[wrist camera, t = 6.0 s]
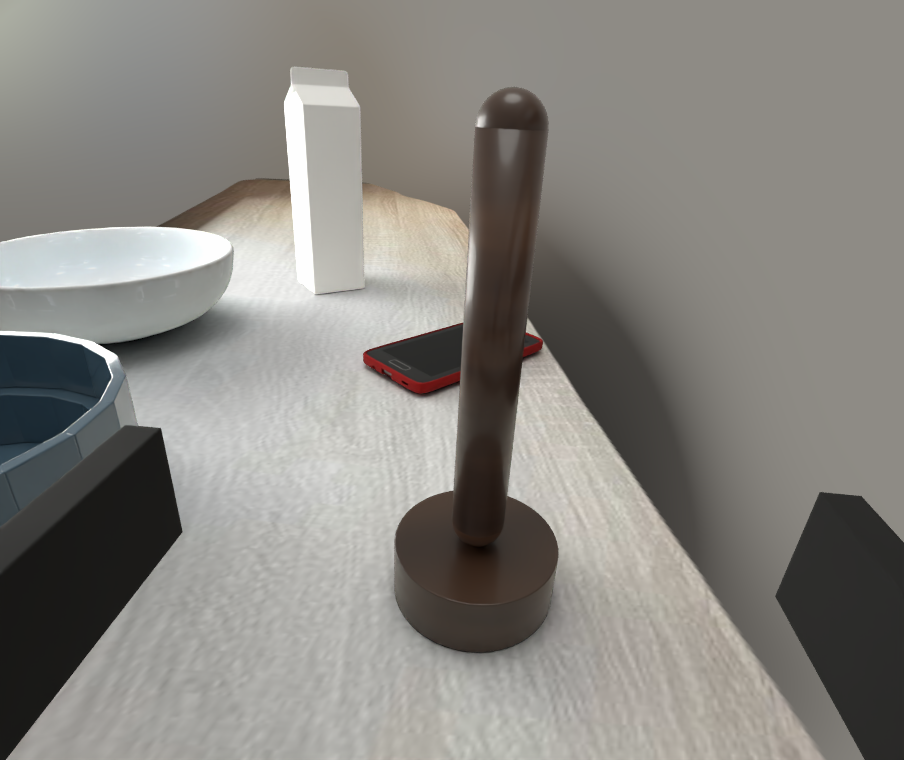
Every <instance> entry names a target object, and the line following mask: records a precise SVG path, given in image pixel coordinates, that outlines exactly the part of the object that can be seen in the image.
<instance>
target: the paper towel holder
mask: <svg viewBox="0 0 904 760" xmlns="http://www.w3.org/2000/svg"><path fill="white" fill-rule="evenodd" d="M547 138H548V116H547V113H546V110H545V107H544V106H543V104H542V102H541V101H540V100H539V99H538V97H537V96H536V95H534V94H533V93H531V92H530V91H528V90H526V89H523V88H518V87H508V88H504V89H501V90H499V91H497V92H495V93H493V94H492V95H491V96H490V97H488V98H487V100H486V101H485V102H484V103H483V104H482V106H481V108H480V110H479V112H478V115H477V118H476V124H475V138H474V155H473V174H472V190H471V205H470V223H469V239H468V256H467V273H466V290H465V307H464V324H463V340H462V357H461V374H460V391H459V408H458V425H457V442H456V459H455V476H454V491H449V492H444V493H441V494H437V495H434V496H432V497H429V498H427V499H425V500H423V501H421V502H420V503H418V504H417V505H415V506H414V507H413V508H411V509H410V510H409V511H408V512H407V513H406V515H405V516H404V517H403V518H402V520H401V522H400V523H399V525H398V528H397V530H396V534H395V540H394V587H395V596H396V600H397V603H398V606H399V608H400V610H401V612H402V613H403V615H404V617H405V618H406V619H407V620H408V622H409V623H410V624H411V625H412V626H413V627H414V628H415V629H416V630H417V631H418V632H420V633H421V634H422V635H424V636H425V637H427V638H429V639H430V640H432V641H434V642H436V643H438V644H441V645H443V646H445V647H449V648H452V649H456V650H461V651H467V652H489V651H496V650H501V649H504V648H508V647H511V646H513V645H515V644H517V643H520V642H522V641H523V640H525V639H526V638H528V637H529V636H530V635H531V634H533V633H534V632H535V631H536V630H537V629H538V628H539V626H540V625H541V624H542V623H543V621H544V619H545V617H546V616H547V613H548V610H549V608H550V602H551V597H552V591H553V585H554V579H555V573H556V568H557V562H558V545H557V541H556V538H555V536H554V533H553V531H552V530H551V528H550V526H549V525H548V524H547V522H546V521H545V520H544V519H543V518H542V517H541V516H540V515H539V514H538V513H537V512H536V511H534V510H533V509H532V508H530V507H529V506H527V505H525V504H524V503H522V502H520V501H518V500H516V499H513V498H511V497H508V496H507V493H508V484H509V475H510V467H511V458H512V449H513V440H514V431H515V422H516V413H517V404H518V395H519V387H520V378H521V369H522V360H523V351H524V342H525V333H526V324H527V315H528V307H529V306H528V305H529V298H530V288H531V280H532V270H533V262H534V253H535V244H536V235H537V226H538V218H539V209H540V199H541V191H542V182H543V173H544V163H545V155H546V147H547Z"/></svg>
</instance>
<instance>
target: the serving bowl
mask: <svg viewBox="0 0 904 760" xmlns="http://www.w3.org/2000/svg"><path fill="white" fill-rule="evenodd" d="M233 254H234V250H233V246H232V244H231V243H230V242H229V241H228V240H227V239H225V238H223V237H221V236H218V235H215V234H211V233H207V232H202V231H197V230H189V229H180V228H166V227H117V228H99V229H85V230H74V231H65V232H56V233H49V234H42V235H35V236H29V237H24V238H18V239H14V240H9V241H5V242H0V331H4V332H5V331H12V332H33V333H53V334H60V335H64V336H69V337H74V338H79V339H84V340H88V341H92V342H95V343H96V344H109V343H119V342H125V341H131V340H136V339H140V338H144V337H148V336H151V335H155V334H158V333H162V332H165V331H168V330H171V329H174V328H176V327H179V326H182V325H184V324H186V323H188V322H190V321H192V320H194V319H196V318H198V317H199V316H201V315H203V314H204V313H206V312H207V311H208V310H209V309H210V308H212V307H213V306H214V305H215V304H216V303H217V302H218V300H219V299H220V298H221V297H222V295H223V294H224V292H225V290H226V289H227V287H228V284H229V282H230V279H231V275H232V269H233Z"/></svg>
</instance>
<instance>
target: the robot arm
mask: <svg viewBox="0 0 904 760" xmlns="http://www.w3.org/2000/svg"><path fill="white" fill-rule="evenodd" d="M181 533H182V527H181V522H180V517H179V512H178V508H177V503H176V498H175V493H174V488H173V484H172V479H171V474H170V469H169V464H168V460H167V455H166V450H165V445H164V440H163V436H162V431H161V428H153V427H143V426H133V425H124V426H123V427H122V428H121V429H120V430H118V431H117V432H116V433H115V434H113V435H112V436H111V437H110V438H109V439H107V440H106V441H105V442H104V443H102V444H101V445H100V446H99V447H98V448H96V449H95V450H94V451H93V452H91V453H90V454H89V455H88V456H86V457H85V458H84V459H83V460H82V461H80V462H79V463H78V464H77V465H75V466H74V467H73V468H72V469H71V470H69V471H68V472H67V473H66V474H64V475H63V476H62V477H61V478H60V479H58V480H57V481H56V482H55V483H53V484H52V485H51V486H50V487H49V488H47V489H46V490H45V491H44V492H42V493H41V494H40V495H39V496H38V497H36V498H35V499H34V500H33V501H31V502H30V503H29V504H28V505H27V506H25V507H24V508H23V509H22V510H20V511H19V512H18V513H17V514H16V515H14V516H13V517H12V518H11V519H9V520H8V521H7V522H6V523H5V524H3V525H2V526H1V527H0V760H6V759H7V758H8V756H9V755H10V754H11V752H12V751H13V750H14V748H15V747H16V746H17V745H18V743H19V742H20V741H21V739H22V738H23V737H24V736H25V734H26V733H27V732H28V730H29V729H30V728H31V727H32V725H33V724H34V723H35V721H36V720H37V719H38V718H39V716H40V715H41V714H42V712H43V711H44V710H45V709H46V707H47V706H48V705H49V703H50V702H51V701H52V700H53V698H54V697H55V696H56V694H57V693H58V692H59V691H60V689H61V688H62V687H63V685H64V684H65V683H66V682H67V680H68V679H69V678H70V676H71V675H72V674H73V672H74V671H75V670H76V669H77V667H78V666H79V665H80V663H81V662H82V661H83V660H84V658H85V657H86V656H87V654H88V653H89V652H90V651H91V649H92V648H93V647H94V645H95V644H96V643H97V642H98V640H99V639H100V638H101V636H102V635H103V634H104V633H105V631H106V630H107V629H108V627H109V626H110V625H111V624H112V622H113V621H114V620H115V618H116V617H117V616H118V615H119V613H120V612H121V611H122V609H123V608H124V607H125V605H126V604H127V603H128V602H129V600H130V599H131V598H132V596H133V595H134V594H135V593H136V591H137V590H138V589H139V587H140V586H141V585H142V584H143V582H144V581H145V580H146V578H147V577H148V576H149V575H150V573H151V572H152V571H153V569H154V568H155V567H156V566H157V564H158V563H159V562H160V560H161V559H162V558H163V557H164V555H165V554H166V553H167V551H168V550H169V549H170V548H171V546H172V545H173V544H174V542H175V541H176V540H177V538H178V537H179V536H180V535H181ZM776 599H777V600H778V602H779V604H780V606H781V608H782V609H783V611H784V613H785V615H786V617H787V619H788V620H789V622H790V624H791V626H792V628H793V629H794V631H795V633H796V635H797V637H798V639H799V641H800V642H801V644H802V646H803V648H804V649H805V651H806V653H807V655H808V657H809V659H810V660H811V662H812V664H813V666H814V667H815V669H816V672H817V673H818V675H819V677H820V679H821V681H822V682H823V684H824V686H825V688H826V690H827V692H828V693H829V695H830V697H831V699H832V701H833V703H834V704H835V706H836V708H837V710H838V711H839V714H840V715H841V717H842V719H843V721H844V722H845V725H846V726H847V728H848V730H849V732H850V734H851V735H852V737H853V739H854V741H855V743H856V744H857V746H858V748H859V750H860V752H861V754H862V756H863V757H864V759H865V760H904V542H903V541H902V540H901V539H900V538H899V537H898V536H897V535H896V534H895V533H894V531H893V530H892V529H891V528H890V527H889V526H888V525H887V524H886V523H885V522H884V521H883V519H882V518H881V517H880V516H879V515H878V514H877V513H876V512H875V511H874V510H873V508H872V507H871V506H870V505H869V504H868V503H867V502H866V501H865V500H864V499H863V498H862V496H854V495H844V494H833V493H823V492H820V493H819V495H818V498H817V500H816V502H815V505H814V507H813V510H812V512H811V514H810V516H809V519H808V521H807V524H806V526H805V528H804V530H803V533H802V535H801V537H800V540H799V542H798V544H797V547H796V549H795V551H794V554H793V556H792V558H791V561H790V563H789V565H788V568H787V570H786V573H785V575H784V577H783V579H782V582H781V584H780V587H779V589H778V591H777V593H776Z"/></svg>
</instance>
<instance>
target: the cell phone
mask: <svg viewBox="0 0 904 760" xmlns="http://www.w3.org/2000/svg"><path fill="white" fill-rule="evenodd" d="M463 324H464V322H463V323H460V324H456V325H453V326H449V327H446V328H442V329H439V330H435V331H432V332H428V333H425V334H421V335H418V336H414V337H411V338H407V339H404V340H400V341H396V342H393V343H389V344H386V345H382V346H379V347H376V348H372V349H369V350H367V351H365V352H364V353H363V361H364V363H365V364H366V365H368V366H369V367H371V368H373V369H375V370H376V371H378V372H379V373H381V374H385V375H387V376H389V377H391V378H392V380H393V381H395V382H397V383H399V384H400V385H402V386H404V387H405V388H407V389H409V390H411V391H413V392H416V393H420V394H421V393H427V392H430V391H434V390H436V389H439V388H442V387H444V386H447V385H450V384H452V383H455V382H457V381H460V374H461V357H462V340H463ZM542 345H543V341H542V339H540V338H538V337H536V336H534V335H531V334H529V333H525V342H524V351H523V357H524V356H527V355H530V354H532V353H535V352H538V351H539V350H541V349H542Z"/></svg>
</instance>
